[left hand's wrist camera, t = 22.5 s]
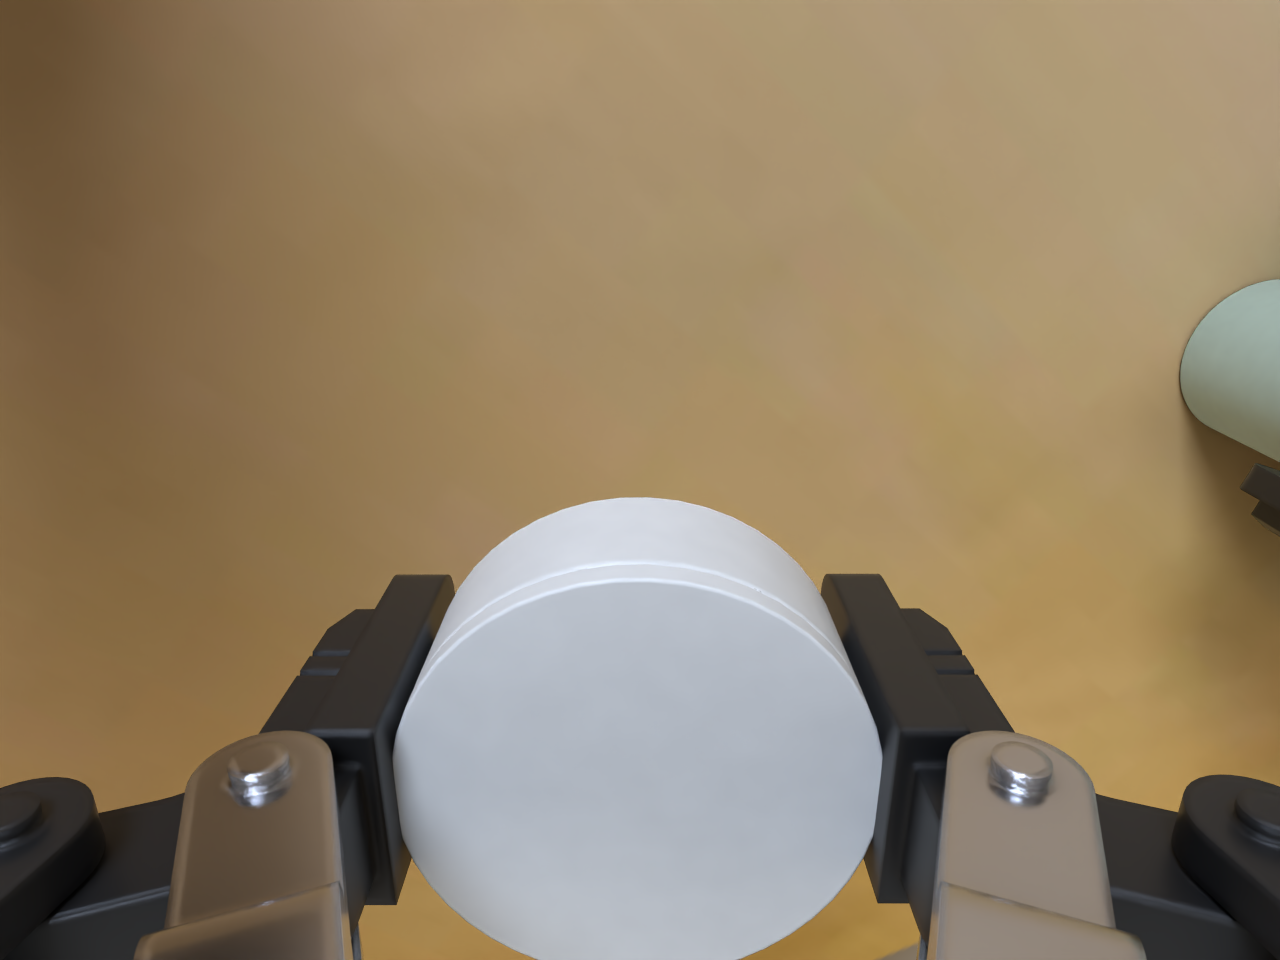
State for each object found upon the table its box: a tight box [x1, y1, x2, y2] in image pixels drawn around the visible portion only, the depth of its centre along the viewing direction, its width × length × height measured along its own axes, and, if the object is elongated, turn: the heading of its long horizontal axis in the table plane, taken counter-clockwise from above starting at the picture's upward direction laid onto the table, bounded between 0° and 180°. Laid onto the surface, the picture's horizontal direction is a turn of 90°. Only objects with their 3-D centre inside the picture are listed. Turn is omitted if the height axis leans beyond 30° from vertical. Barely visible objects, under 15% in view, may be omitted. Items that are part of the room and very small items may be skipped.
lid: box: [392, 497, 883, 960], centre depth 10 cm, size 5×5×2 cm
